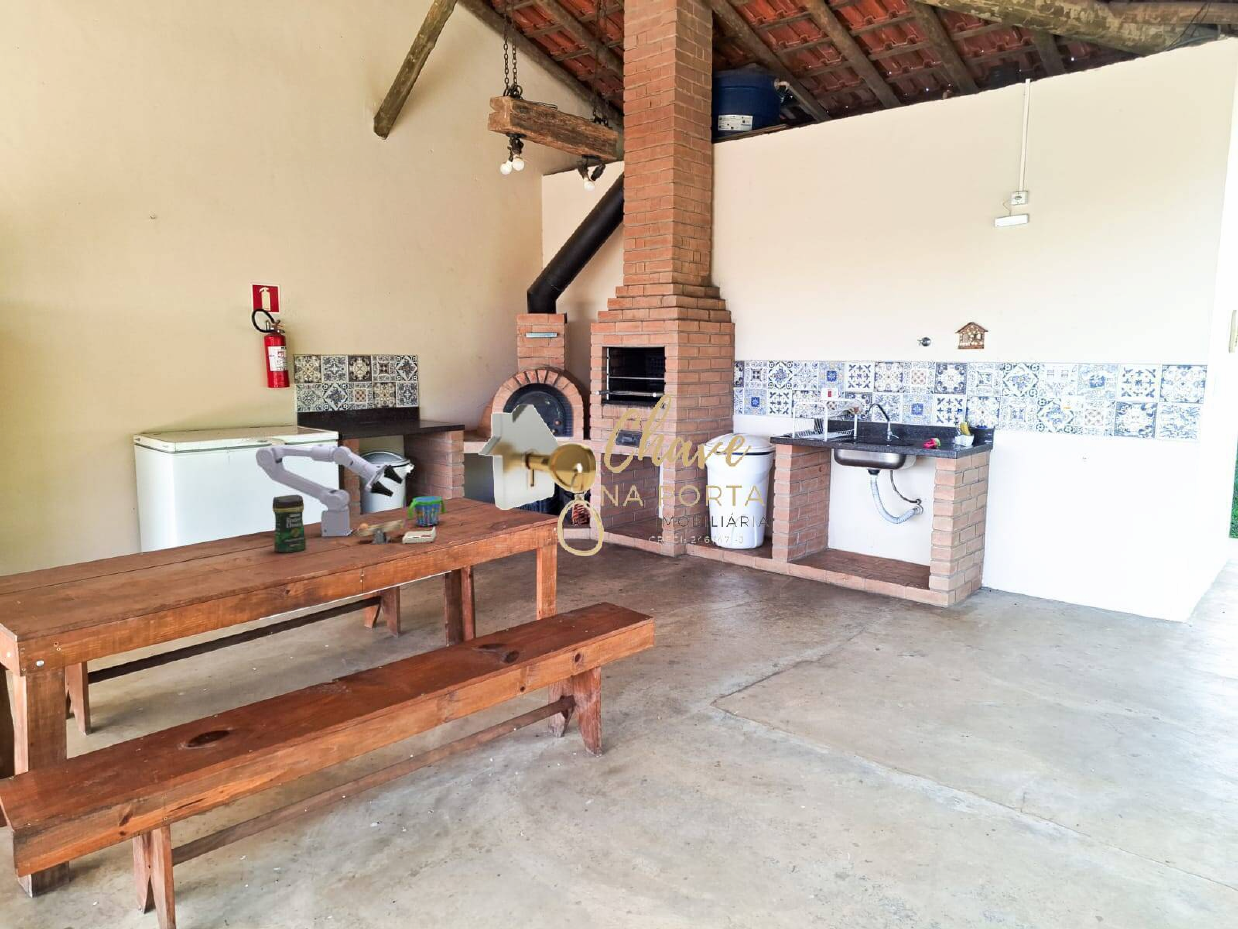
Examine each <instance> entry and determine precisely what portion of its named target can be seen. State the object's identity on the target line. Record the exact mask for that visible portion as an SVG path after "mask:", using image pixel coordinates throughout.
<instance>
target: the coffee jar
mask: <svg viewBox="0 0 1238 929" xmlns="http://www.w3.org/2000/svg"><path fill="white" fill-rule="evenodd" d="M271 509H272V511H273V514H274V517H275V519H274V520H275V521H274V522H275V523H274V524H275V525H274V526H275V527H274V528H275V529H274V542H273V544H274V548H273V549H274V550H275V551H276V552H277V553H292V552H293V553H294V552H299V551H303V550H305V549H306V548H307V541H306V535H305V534H306V533H305V527H304V522H303V521H304V520H303V512H304V509H305V503H304V498H303V496H302V495H299V494H287V495H281V496H274V497H273V499H272V508H271Z"/></svg>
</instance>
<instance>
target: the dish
mask: <svg viewBox="0 0 1238 929" xmlns="http://www.w3.org/2000/svg"><path fill="white" fill-rule="evenodd" d="M422 535H431V537H421V536H422ZM413 537H419V538H413ZM434 537H435V538H436V526H433V528H432V529H431V530H427V531H425V530H424V531H422V530H421V531H419V530H418V531H407V532H405V534H404V536H403V537H402V545H406V544H405V543H416V542H417V543H418V542H426V541H433V539H434V540H435V538H434ZM433 542H434V541H433ZM418 544H419V543H418Z"/></svg>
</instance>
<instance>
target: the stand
mask: <svg viewBox="0 0 1238 929" xmlns="http://www.w3.org/2000/svg"><path fill="white" fill-rule="evenodd" d="M387 534H388V531H387V532H383V529H376V530H375V534H374V535H375V538H374V540H373V541H372V542H371V545H387V544H388V543H389V542H390V540H391V539H392V538H391V536H388V535H387ZM390 538H391V539H390ZM387 542H388V543H387ZM378 543H380V544H378ZM382 543H383V544H382Z"/></svg>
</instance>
